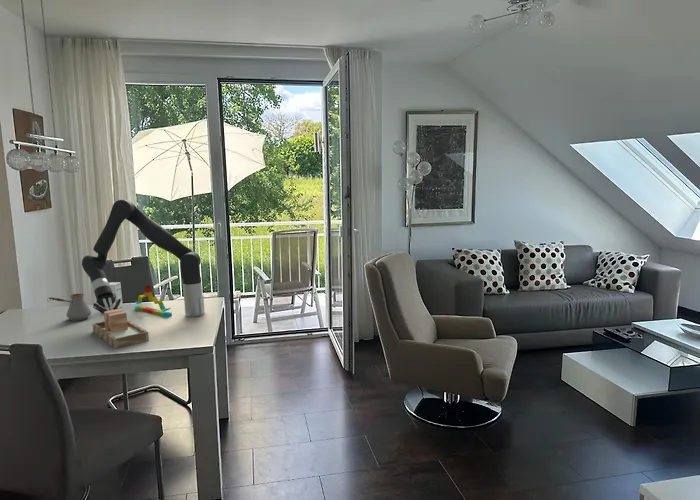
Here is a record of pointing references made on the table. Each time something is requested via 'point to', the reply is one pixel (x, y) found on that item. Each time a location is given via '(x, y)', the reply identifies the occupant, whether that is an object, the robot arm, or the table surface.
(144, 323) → the table surface
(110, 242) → the robot arm
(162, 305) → the multicoloured triangular frame
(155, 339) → the table surface
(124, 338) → the trough
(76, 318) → the coffee pot
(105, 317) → the block
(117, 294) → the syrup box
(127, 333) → the pad
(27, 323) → the table surface
